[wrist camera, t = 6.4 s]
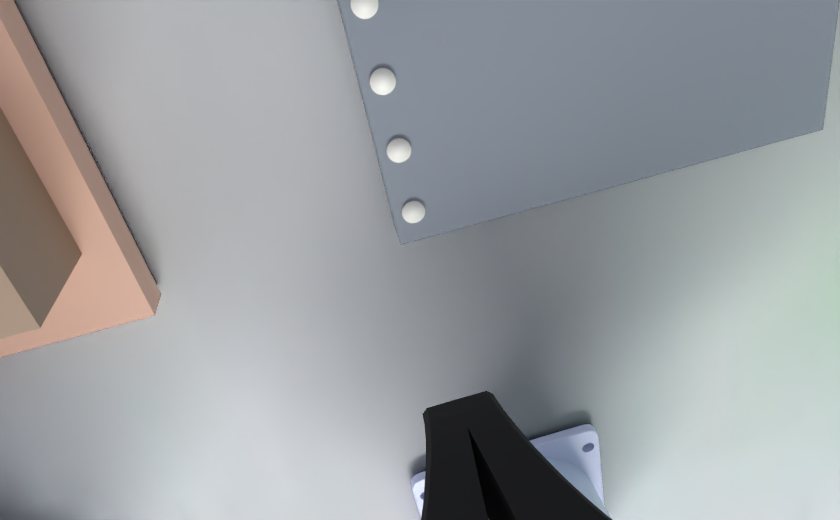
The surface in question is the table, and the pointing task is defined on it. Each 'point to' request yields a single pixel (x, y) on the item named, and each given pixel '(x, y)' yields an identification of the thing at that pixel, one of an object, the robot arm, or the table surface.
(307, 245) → the table surface
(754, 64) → the board
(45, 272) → the stub
